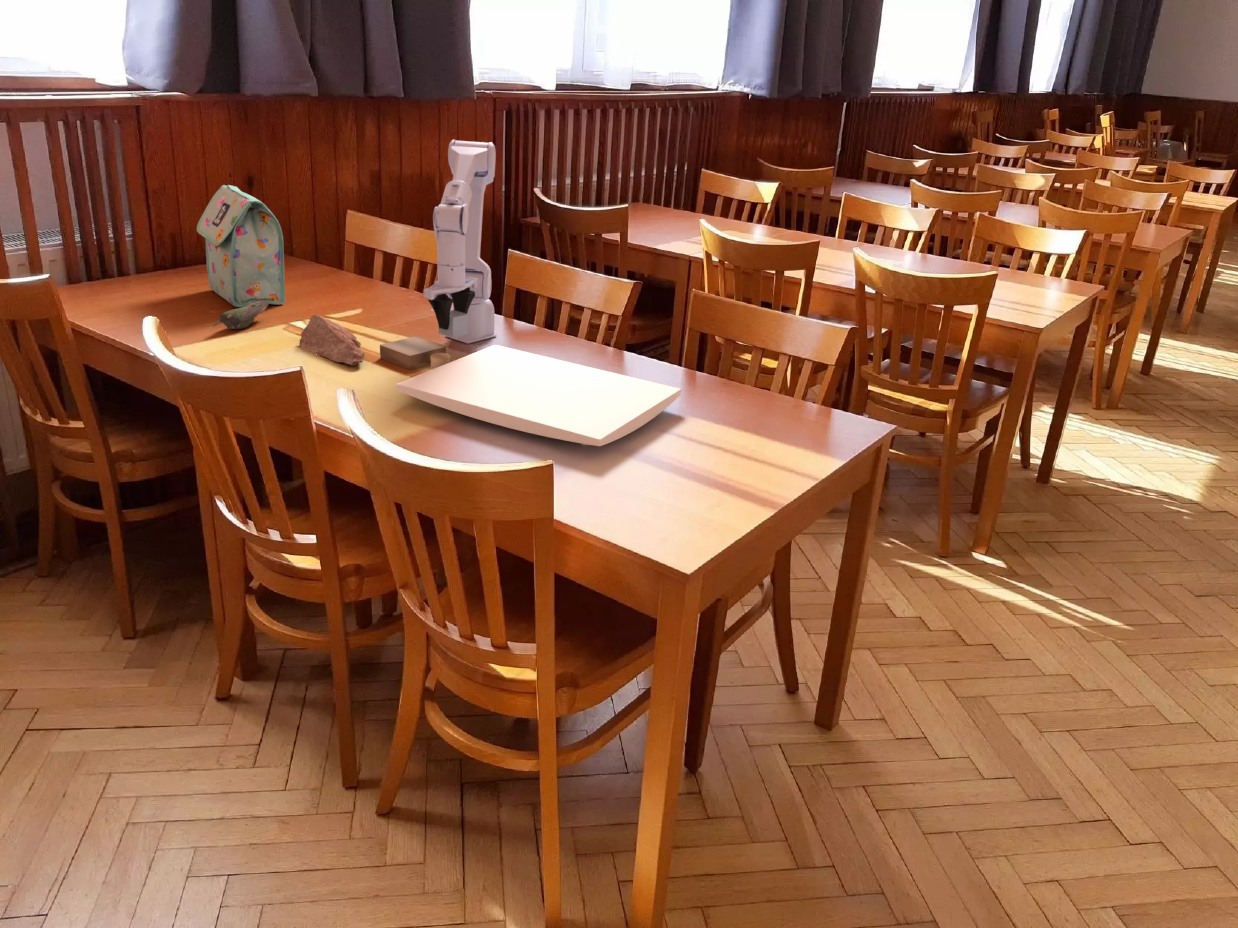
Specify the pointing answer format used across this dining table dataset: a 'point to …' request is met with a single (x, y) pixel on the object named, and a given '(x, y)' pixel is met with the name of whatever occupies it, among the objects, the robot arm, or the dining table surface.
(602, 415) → the board
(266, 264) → the lunch bag
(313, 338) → the rock
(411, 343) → the walnut base
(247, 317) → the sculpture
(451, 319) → the grey cube
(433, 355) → the beech cylinder
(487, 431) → the dining table surface
